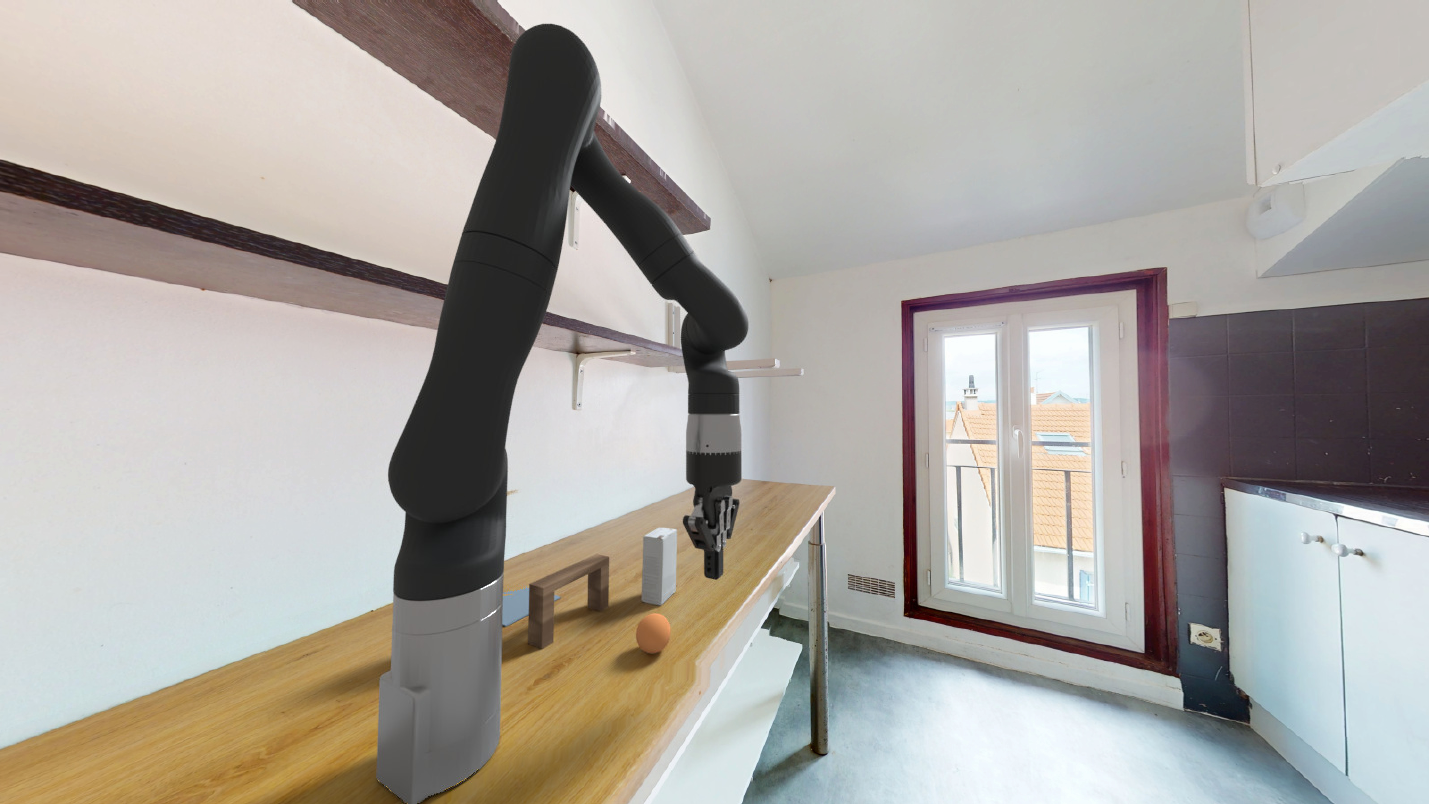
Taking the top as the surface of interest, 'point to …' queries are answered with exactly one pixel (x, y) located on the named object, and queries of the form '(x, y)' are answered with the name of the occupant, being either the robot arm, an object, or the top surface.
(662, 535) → the skincare box
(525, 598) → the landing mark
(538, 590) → the bridge
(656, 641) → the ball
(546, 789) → the top surface
